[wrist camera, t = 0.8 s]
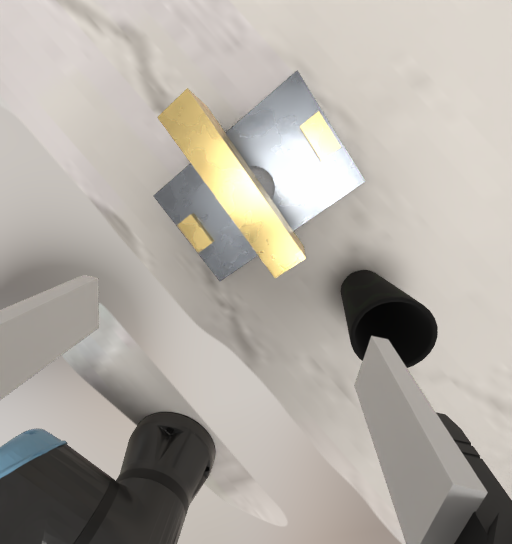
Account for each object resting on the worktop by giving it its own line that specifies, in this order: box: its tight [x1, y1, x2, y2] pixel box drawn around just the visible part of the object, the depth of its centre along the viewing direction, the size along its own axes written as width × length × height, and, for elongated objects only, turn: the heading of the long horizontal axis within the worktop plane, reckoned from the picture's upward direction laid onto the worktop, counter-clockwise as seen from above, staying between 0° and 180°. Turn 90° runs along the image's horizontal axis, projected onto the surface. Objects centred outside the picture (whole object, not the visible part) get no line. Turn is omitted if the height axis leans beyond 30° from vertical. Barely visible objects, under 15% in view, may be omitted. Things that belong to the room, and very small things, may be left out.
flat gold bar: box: [157, 88, 306, 278], centre depth 26 cm, size 3×16×7 cm, turn 37°
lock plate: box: [154, 71, 365, 281], centre depth 32 cm, size 22×14×6 cm, turn 127°
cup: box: [341, 270, 437, 368], centre depth 31 cm, size 8×8×12 cm
